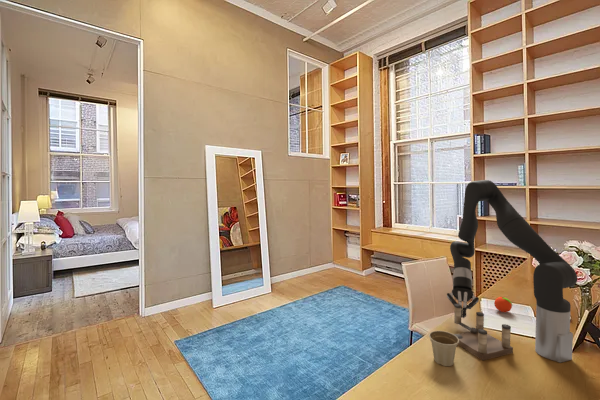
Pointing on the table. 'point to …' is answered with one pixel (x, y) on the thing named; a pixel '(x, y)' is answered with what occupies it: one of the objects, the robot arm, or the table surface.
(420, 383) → the table surface
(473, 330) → the swing leg
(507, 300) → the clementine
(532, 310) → the table surface
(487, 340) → the stool
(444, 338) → the flower pot
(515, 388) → the table surface
